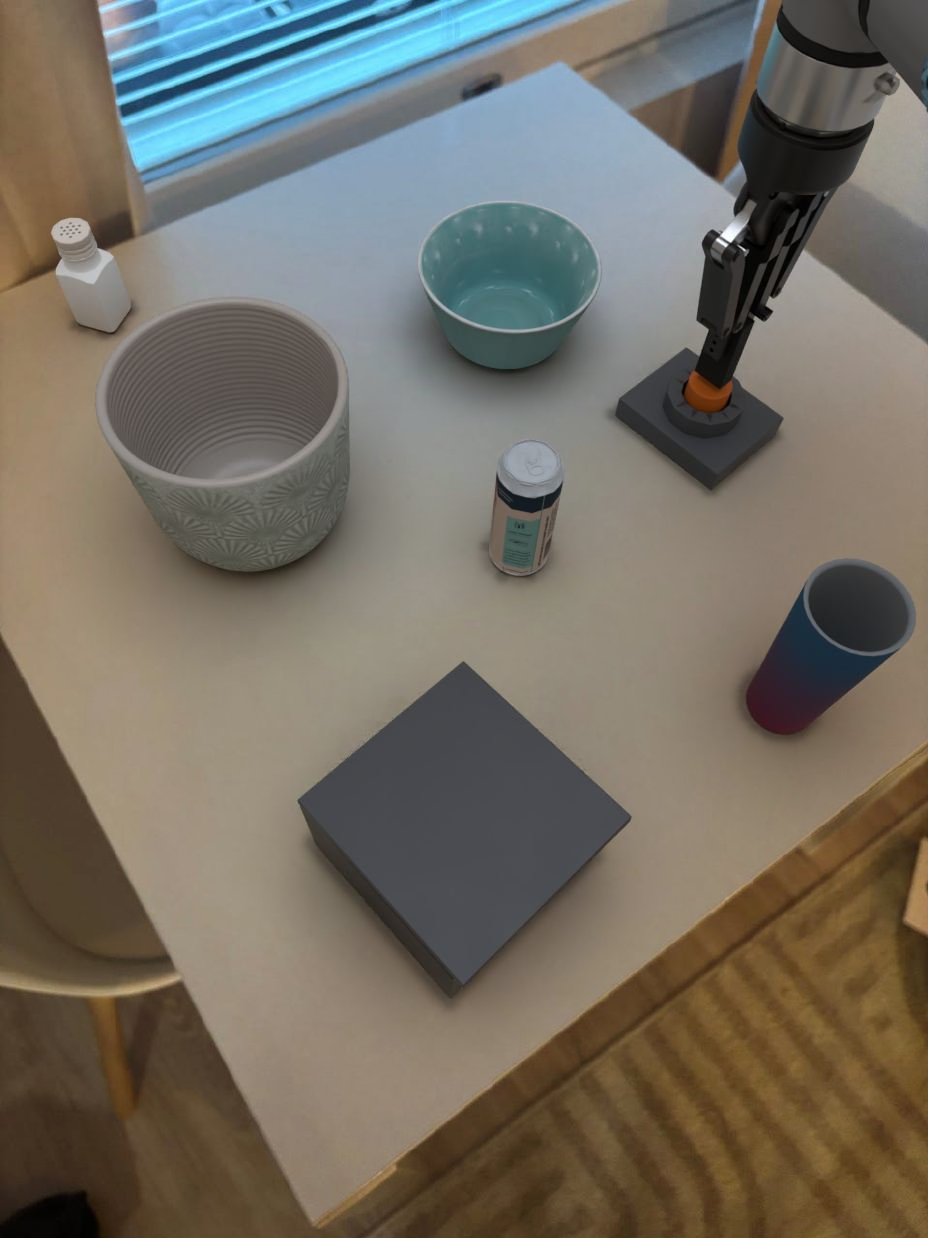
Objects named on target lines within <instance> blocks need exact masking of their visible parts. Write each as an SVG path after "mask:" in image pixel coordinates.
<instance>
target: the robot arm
mask: <svg viewBox="0 0 928 1238" xmlns="http://www.w3.org/2000/svg"><path fill="white" fill-rule="evenodd" d="M771 29H772V31H771V32H770V35H769V39H768V42H767V45H766V49H765V51H764V55H763V57H762V60H761V63H760V66H759V69H758V72H757V76H756V79H755V87H756V88H755V89H754V91H753V92H752V94H751V97H750V100H749V103H748V106H747V110H746V111H745V116H744V119H743V123H742V125H741V129H740V132H739V135H738V139H737V144H736V145H737V147H736V149H737V154H738V157H739V160H740V163H741V165H742V169H743V171H744V174H745V178H746V181H745V183H744V184H743V185H742V187H741V189H740V192H739V194H738V196H737V198H736V200H735V201H734V204H733V210H732V212H733V213H732V214H733V216H734V218H733V219H732V220H731V221H730V222H729V224H728V225H727V226H726V227H725V229H724V230H719V231H717V230H715V229H713V228H712V229H709V230H708V232H706V234H705V235H704V237H703V239H702V242H701V247H702V248H701V249H702V251H703V254H704V261H703V262H704V263H703V270H702V276H701V283H700V291H699V296H698V305H697V310H696V317H695V320H696V322H697V323H699V324H700V325H701V326H703V327H705V329H707V334H706V336H705V340H704V342H703V345H702V348H701V350H700V354H699V355H698V356H699V359H698V362H697V365H696V368H695V372H697V373H698V374H699V375H701V376H702V377H703V378H705V379H706V380H708V381H709V382H710V383H712V384H713V385H714V386H716V387H717V388H718V389H721V388H722V387H724V386H725V385H726V384H727V383H729V382H730V381H731V380H732V377H733V376H734V375H735V372H736V370H737V367H738V365H739V362H740V359H741V357H742V354H743V352H744V350H745V347H746V345H747V342H748V340H749V337H750V335H751V332H752V330H753V328H754V325H755V322H756V320H754V319H755V317H756V318H757V319H759V320H760V321H761V322H763V323H766V322H767V321H769V318H771V317H772V314H773V313H774V310H773V309H771V308H770V307H768V306H767V304H768V301H769V299H770V298H771V299H775V298H777V297H778V296H779V295H780V294H781V293H782V291H783V289H784V287H785V285H786V283H787V281H788V279H789V277H790V275H791V273H792V271H793V270H794V268H795V267H796V266H795V265H796V264H797V262H798V260H799V258H800V256H801V254H802V253H803V250H804V249H805V247H806V246H807V243H808V242H809V240H810V238H811V236H812V233H813V232H814V231H815V228H816V227H817V225H818V222H819V221H820V219H821V217H822V215H823V213H824V211H825V209H826V208H827V205H829V203H830V201H831V200H832V198H833V196H834V195H835V193H836V192H837V190H838V189H839V188H840V187H841V186H843V185H844V184H845V183H846V182H847V181H848V180H850V178H851V177H852V175H853V174H854V172H855V171H856V168H857V165H858V163H859V161H860V159H861V158H862V157H861V156H862V155H863V152H864V150H865V147H866V144H867V143H868V140H869V138H870V136H871V134H872V132H873V129H874V126H875V118H876V117H877V115H879V113H880V111H881V109H882V107H883V104H884V102H885V100H886V98H887V96H889V97H890V96H892V95H894V94H895V93H896V92H897V91H898V89H899V88H900V86H901V80H903V81H904V83H905V84H906V85H907V86H908V87H909V89H910V90H911V91H912V92H913V94H914V95H915V96H916V97H917V99H918V100H919V101H920V102H921V103H922V105H923V106H924V107H925V108H926V110H925V111H926V112H927V114H928V0H781V3H780V7H779V9H778V11H777V15H776V17H775V20H774V23H773V27H772V28H771ZM897 74H898V76H899V77H900V78H901V79H900V78H899V77H898V76H896V75H897Z"/></svg>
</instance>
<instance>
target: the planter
mask: <svg viewBox="0 0 928 1238" xmlns="http://www.w3.org/2000/svg"><path fill="white" fill-rule="evenodd" d="M94 396H95V398H94V406H95V415H96V419H97V423H98V426H99V429H100V431H101V435H102V436H103V438H104V439H105V441H106V442H107V444H108V446H109V448H110V449H111V451H112V452H113V454H114V456H115V458H116V459H117V461H118V462H119V464H120V466H121V467H122V469H123V471H124V472H125V474H126V476H127V477H128V479H129V480H130V481H131V484H132V485H133V487H134V488H135V491H136V492H137V494H138V495H139V497H140V499H141V500H142V502H143V503H144V505H145V507H146V508H147V511H148V512H149V514H150V515H151V517H152V518H153V520H154V522H155V523H156V524H157V526H158V527H159V529H160V530H161V531H162V532H163V533H164V534H165V535H166V537H167V538H169V540H171V541H172V542H173V543H174V544H175V545H176V546H177V547H179V548H180V549H181V550H182V551H184V552H185V553H186V554H188V555H190V556H191V557H193V558H195V559H197V560H198V561H200V562H202V563H205V564H208V565H210V566H211V567H212V566H213V567H215V568H218V569H219V568H220V569H223V570H227V571H234V572H259V571H267V570H271V569H276V568H279V567H282V566H285V565H288V564H290V563H292V562H294V561H296V560H298V559H300V558H301V557H303V556H305V555H307V554H308V553H309V552H311V551H312V550H313V549H315V548H316V547H317V546H318V545H319V544H320V543H321V542H322V541H323V540H324V539H325V537H326V536H328V534H329V533H330V531H331V530H332V529H333V527H334V526H335V524H336V522H337V521H338V519H339V517H340V515H341V513H342V510H343V508H344V505H345V501H346V498H347V496H348V495H347V494H348V491H349V484H350V475H351V461H350V460H351V458H350V457H351V455H350V453H351V452H350V450H351V449H350V448H351V447H350V445H351V444H350V378H349V370H348V367H347V364H346V360H345V358H344V355H343V353H342V351H341V349H340V348H339V346H338V344H337V342H336V341H335V340H334V339H333V337H332V336H331V334H330V333H328V332H327V331H326V330H325V329H324V327H323V326H321V325H320V324H319V323H317V322H316V321H315V320H314V319H312V318H311V317H309V316H307V315H306V314H305V313H302V312H301V311H299V310H297V309H295V308H293V307H290V306H288V305H285V304H283V303H279V302H275V301H272V300H267V299H263V298H257V297H249V296H219V297H209V298H203V299H198V300H194V301H190V302H186V303H183V304H180V305H176V306H174V307H172V308H170V309H167V310H164V311H162V312H160V313H159V314H156V315H154V316H153V317H151V318H149V319H148V320H146V321H144V322H143V323H141V324H140V325H138V326H137V327H136V328H134V329H132V330H131V332H129V333H128V334H127V335H126V336H125V337H124V338H123V339H122V340H121V341H120V342H119V343H118V344H117V345H116V347H115V348H114V350H113V351H112V352H111V353H110V355H109V356H108V357H107V359H106V361H105V363H104V365H103V368H102V369H101V372H100V374H99V377H98V381H97V384H96V389H95V395H94Z"/></svg>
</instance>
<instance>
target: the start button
mask: <svg viewBox="0 0 928 1238" xmlns="http://www.w3.org/2000/svg"><path fill="white" fill-rule="evenodd" d="M731 390H732V380H731V381H730V382H729V383H727V384H726V385H725V386H724V387H722V388H721V389H718V388H717V387H716V386H714V385H713V384H712V383H710V382H709V381H708V380H706V379H705V378H703V377H702V376H701V375H699V374H698V373H697V372H695V370H694V371H693V372H692V373H691V375H690V378H689V381H688V383H687V386H686V389H685V393H684V395H685V399H686V401H687V403H688V404H689V405H690V406H691V407H692V408H694V409H695V410H697V411H701V412H705V413H714V412H718V411H720V410H721V409H722V408H724V406H725V405H726V403H727V400H728V398H729V395H730V393H731Z"/></svg>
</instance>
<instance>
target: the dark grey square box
mask: <svg viewBox="0 0 928 1238" xmlns="http://www.w3.org/2000/svg"><path fill="white" fill-rule="evenodd" d="M299 808H300V810H301V812H302V815H303V817H304V820H305V822H306V824H307V825H306V826H307V827H308V829H309V832H310V835H311V836H312V839H313V842H314V844H315V845H316V847H317V848H318V849H320V851H321V852H322V854H323V855H324V856H325V857H326V858H327V859H328V860H329V861H330V863H331V864H332V865H333V866H334V867H335V869H337V870H338V872H339V873H340V875H342V877H344V879H345V880H346V881H347V882H348V883H349V885H351V887H352V888H353V889H354V890H355V891H356V892H357V894H358V895H359V896H360V897H361V898H362V900H364V902H365V903H366V904H367V905H368V907H370V909H372V911H373V912H374V913H375V914H376V915H377V916H378V918H379V919H380V921H382V922H383V923H384V925H385V926H386V927H387V929H389V930H390V931H391V933H392V934H393V935H394V936H395V937H396V939H397V940H398V941H399V942H400V943H401V944H402V946H403V947H405V949H406V950H407V951H408V952H409V953H410V954H411V956H412V957H413V958H414V959H415V960H416V961H417V963H418V964H419V965H420V966H421V967H422V968H423V969H424V971H425V972H426V973H427V974H428V975H429V977H430V978H431V979H432V980H433V981H434V982H435V983H436V984H437V986H438V987H440V989H441V990H442V991H443V992H444V993H445V995H446V996H447V998H448V999H452V998H453V997H454V996H455V995H456V994H457V993H458V992H459V991H460V990H461V989H462V987H461V985H460V984H459V983H458V982H457V981H456V980H455V979H454V978H453V977H452V975H451V974H450V973H449V972H448V971H447V970H446V969H445V968H444V966H443V965H442V964H441V963H440V962H439V961H438V960H437V959H436V957H435V956H434V955H433V954H432V953H431V952H430V951H429V950H428V949H427V947H426V946H425V945H424V944H423V943H422V942H421V941H420V940H419V938H418V937H417V936H416V935H415V934H414V933H413V932H412V931H411V929H410V928H409V927H408V926H407V925H406V924H405V923H404V922H403V921H402V919H401V918H400V917H399V916H398V915H397V914H396V913H395V912H394V910H393V909H392V908H391V907H390V906H389V905H388V904H387V903H386V901H385V900H384V899H383V898H382V897H381V896H380V895H379V894H378V893H377V891H376V890H375V889H374V888H373V887H372V886H371V885H370V884H369V882H368V881H367V880H366V879H365V878H364V877H363V876H362V875H361V873H360V872H359V871H358V870H357V869H356V868H355V867H354V866H353V865H352V863H351V862H350V861H349V860H348V859H347V858H346V857H345V856H344V854H343V853H342V852H341V851H340V850H339V849H338V848H337V847H336V845H335V844H334V843H333V842H332V841H331V840H330V839H329V838H328V837H327V835H326V834H325V833H324V832H323V831H322V830H321V829H320V828H319V826H318V825H317V824H316V823H315V822H314V821H313V820H312V819H311V817H310V816H309V815H308V814H307V813H306V812H305V811H304V810H303V809H302V807H301V806H300V805H299Z"/></svg>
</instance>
